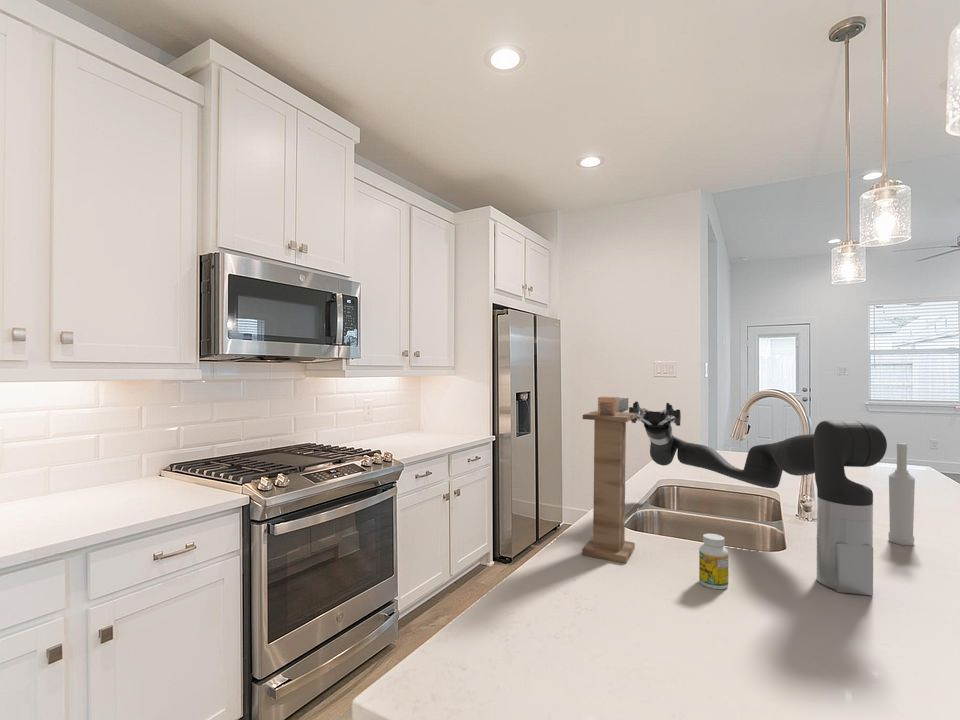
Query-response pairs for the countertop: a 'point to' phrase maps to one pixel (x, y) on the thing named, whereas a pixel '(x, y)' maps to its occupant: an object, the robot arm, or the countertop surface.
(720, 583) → the supplement bottle
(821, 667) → the countertop surface
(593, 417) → the stand
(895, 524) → the bottle
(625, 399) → the orange and blue box
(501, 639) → the countertop surface
